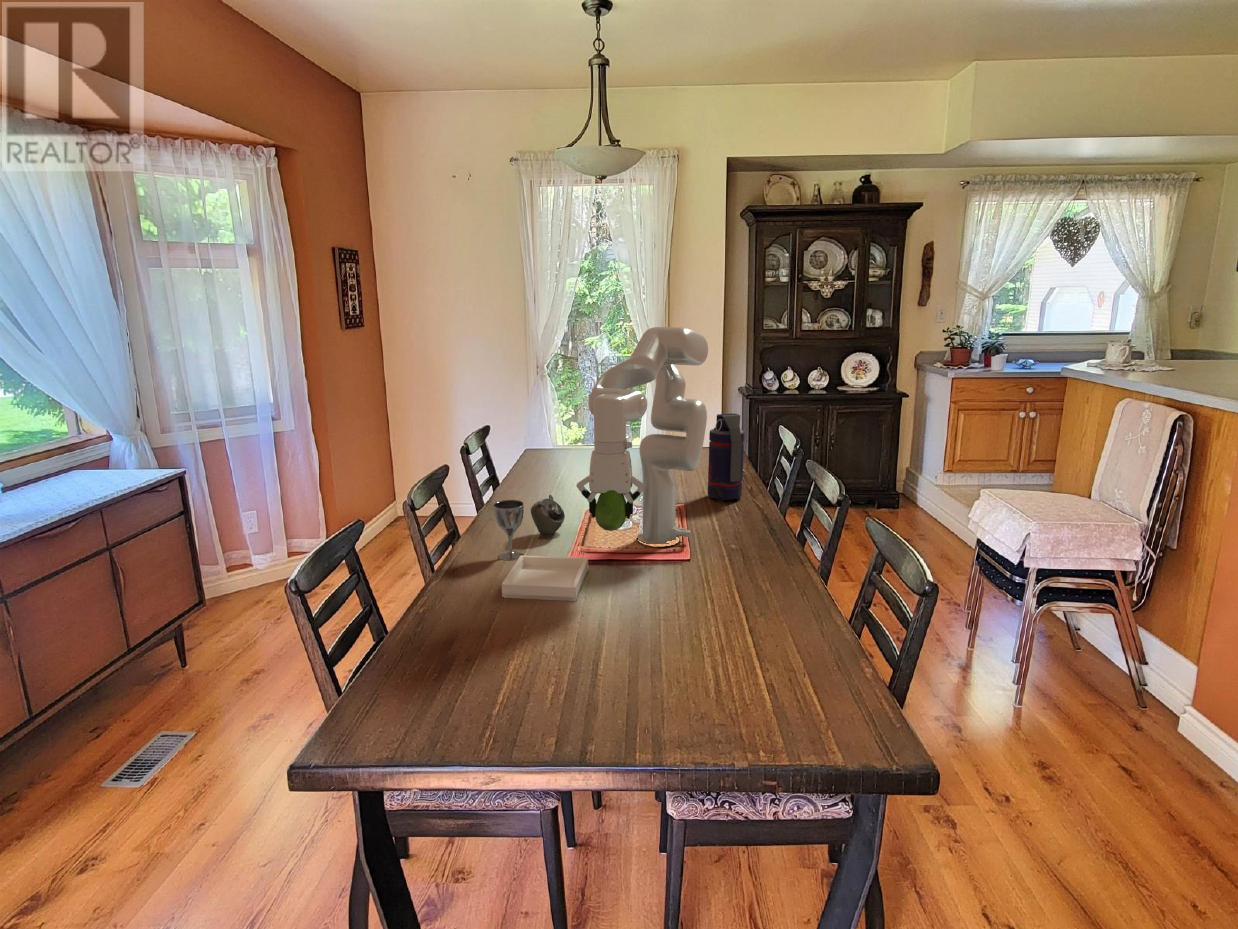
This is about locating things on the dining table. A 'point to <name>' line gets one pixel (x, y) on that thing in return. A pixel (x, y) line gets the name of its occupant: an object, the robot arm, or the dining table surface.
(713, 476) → the grenade
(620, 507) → the avocado
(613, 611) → the dining table surface
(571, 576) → the tray
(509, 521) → the wine glass
